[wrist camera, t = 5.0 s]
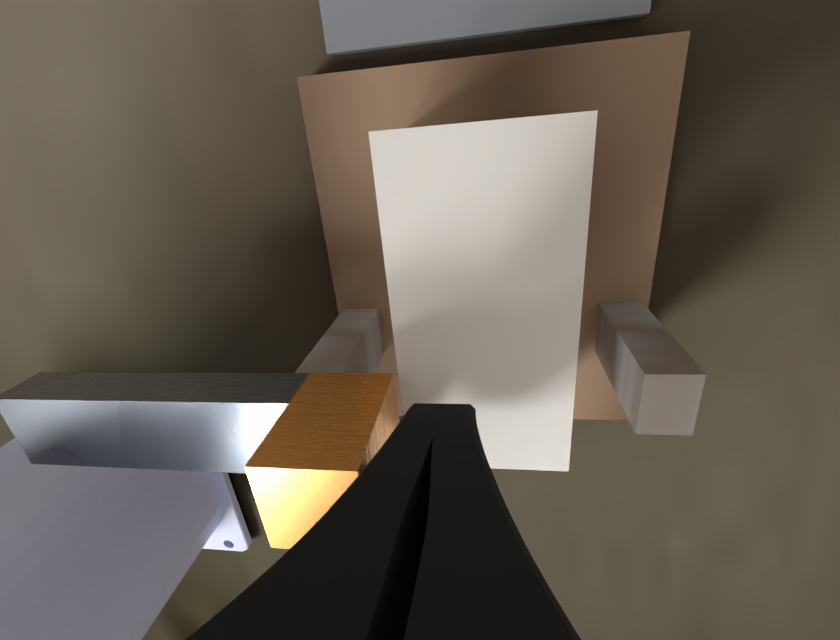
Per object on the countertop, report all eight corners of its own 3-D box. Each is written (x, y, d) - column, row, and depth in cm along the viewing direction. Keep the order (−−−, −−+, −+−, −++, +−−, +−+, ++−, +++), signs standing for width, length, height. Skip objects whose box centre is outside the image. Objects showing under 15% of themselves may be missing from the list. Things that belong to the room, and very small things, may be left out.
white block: (427, 381, 15) (409, 465, 11) (405, 129, 11) (368, 131, 8) (546, 381, 14) (568, 471, 10) (559, 115, 11) (597, 110, 7)
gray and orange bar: (72, 433, 12) (-49, 523, 9) (40, 372, 11) (-103, 452, 8) (402, 442, 10) (373, 554, 8) (393, 373, 10) (357, 471, 7)
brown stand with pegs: (362, 402, 16) (318, 501, 12) (307, 80, 12) (206, 54, 8) (624, 406, 15) (681, 521, 11) (676, 37, 10) (812, -25, 6)
